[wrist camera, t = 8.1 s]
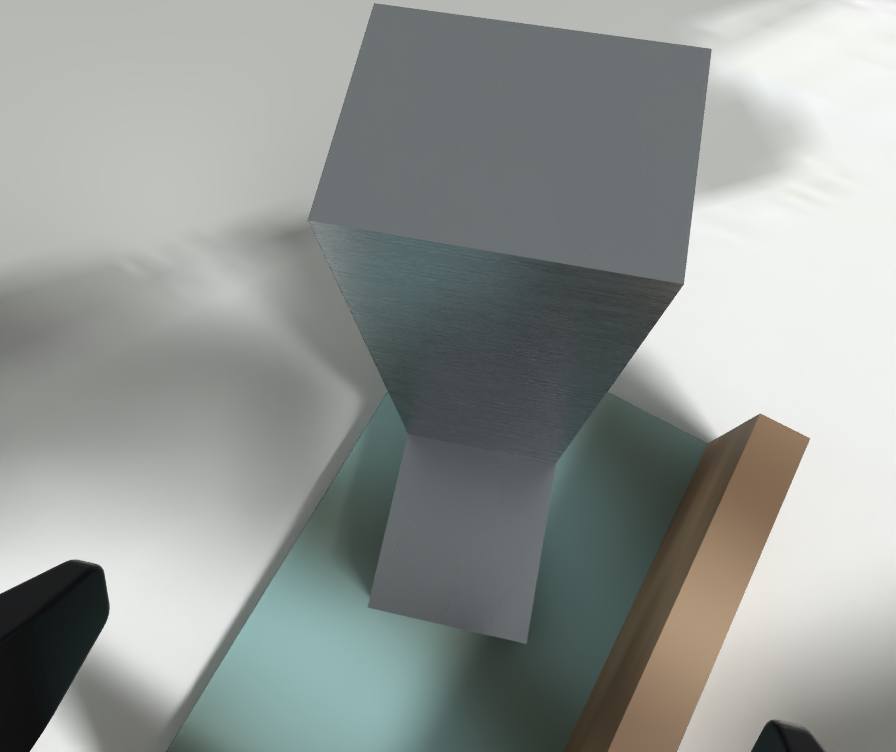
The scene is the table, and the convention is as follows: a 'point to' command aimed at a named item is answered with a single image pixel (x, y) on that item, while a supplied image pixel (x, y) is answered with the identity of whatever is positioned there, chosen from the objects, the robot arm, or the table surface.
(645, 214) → the angle bracket
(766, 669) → the table surface
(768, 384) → the table surface
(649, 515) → the tray
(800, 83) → the table surface
